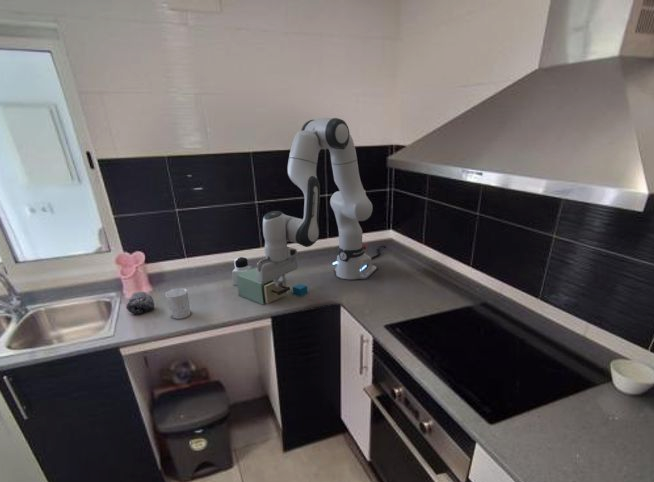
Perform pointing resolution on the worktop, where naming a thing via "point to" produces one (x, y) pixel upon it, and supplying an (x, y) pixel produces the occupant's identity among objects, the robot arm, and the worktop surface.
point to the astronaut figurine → (240, 268)
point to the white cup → (178, 303)
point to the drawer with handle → (274, 290)
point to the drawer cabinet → (251, 286)
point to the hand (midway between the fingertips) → (279, 285)
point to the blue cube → (300, 290)
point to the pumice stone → (140, 303)
